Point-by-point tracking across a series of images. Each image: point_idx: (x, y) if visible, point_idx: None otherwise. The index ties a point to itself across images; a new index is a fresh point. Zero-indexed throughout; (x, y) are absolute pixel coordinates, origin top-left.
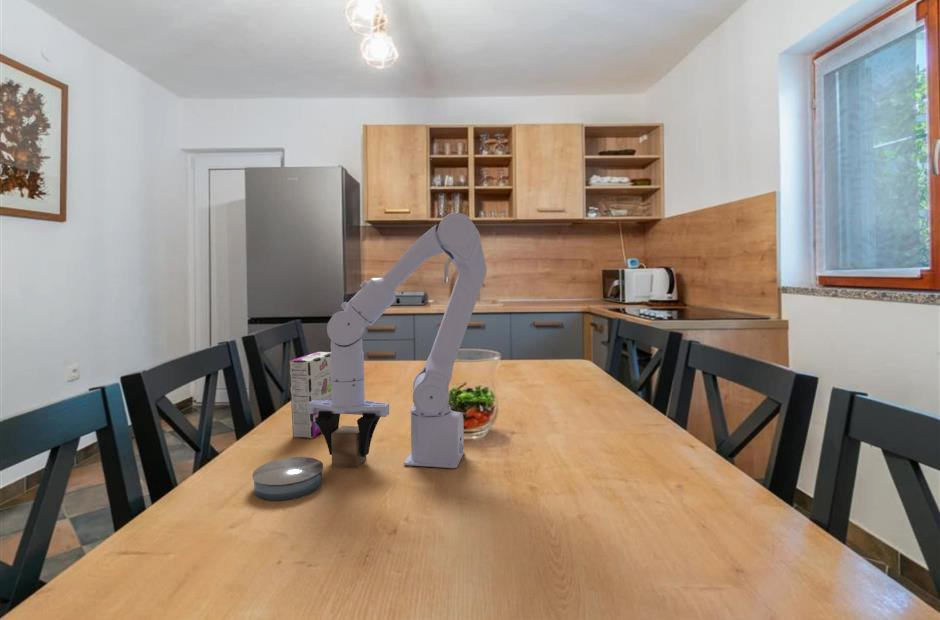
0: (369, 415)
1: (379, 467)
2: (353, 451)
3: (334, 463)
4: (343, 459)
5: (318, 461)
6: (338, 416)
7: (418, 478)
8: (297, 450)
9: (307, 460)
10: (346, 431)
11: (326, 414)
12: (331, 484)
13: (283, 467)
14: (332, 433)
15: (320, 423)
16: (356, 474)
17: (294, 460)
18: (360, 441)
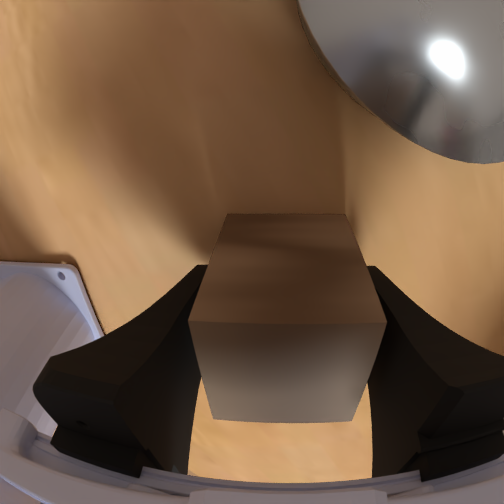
0: (83, 446)
1: (143, 240)
2: (227, 254)
3: (335, 221)
4: (289, 231)
5: (377, 101)
6: (377, 462)
7: (4, 186)
8: (492, 324)
9: (441, 112)
10: (291, 366)
11: (455, 450)
12: (257, 38)
13: (500, 26)
14: (378, 324)
15: (485, 364)
16: (196, 157)
17: (497, 113)
18: (184, 305)
